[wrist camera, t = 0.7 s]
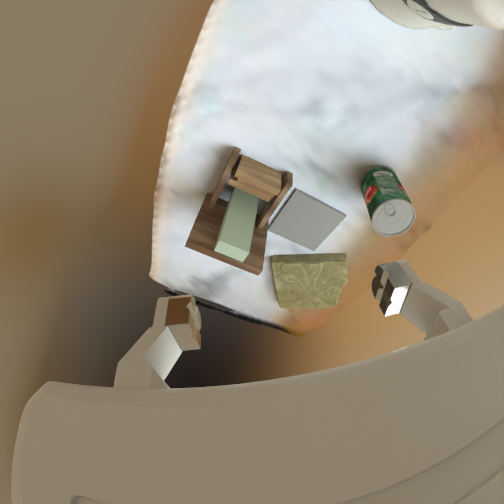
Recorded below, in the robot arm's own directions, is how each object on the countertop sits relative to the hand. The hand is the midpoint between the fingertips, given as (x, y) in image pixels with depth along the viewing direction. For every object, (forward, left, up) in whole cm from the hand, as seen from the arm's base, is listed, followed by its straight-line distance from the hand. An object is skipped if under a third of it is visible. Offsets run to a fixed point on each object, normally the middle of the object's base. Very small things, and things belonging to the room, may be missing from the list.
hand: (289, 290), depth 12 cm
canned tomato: (+6, +23, -38) cm, 45 cm away
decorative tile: (+38, +28, -38) cm, 61 cm away
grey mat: (+22, +16, -38) cm, 47 cm away
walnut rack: (+20, +2, -38) cm, 43 cm away
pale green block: (+22, +2, -38) cm, 44 cm away
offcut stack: (+17, +2, -38) cm, 41 cm away
